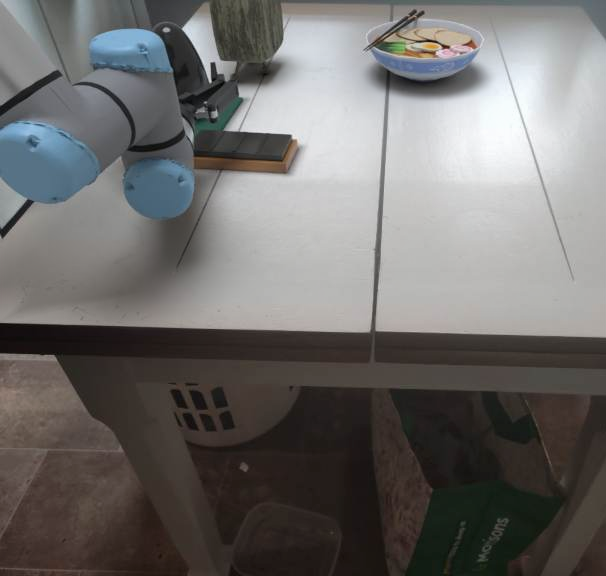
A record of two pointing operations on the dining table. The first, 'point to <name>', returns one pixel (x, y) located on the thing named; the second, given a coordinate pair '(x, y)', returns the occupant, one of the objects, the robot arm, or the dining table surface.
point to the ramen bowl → (423, 47)
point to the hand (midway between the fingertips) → (169, 74)
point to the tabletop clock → (247, 30)
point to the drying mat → (223, 120)
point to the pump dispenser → (182, 58)
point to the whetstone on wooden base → (244, 151)
